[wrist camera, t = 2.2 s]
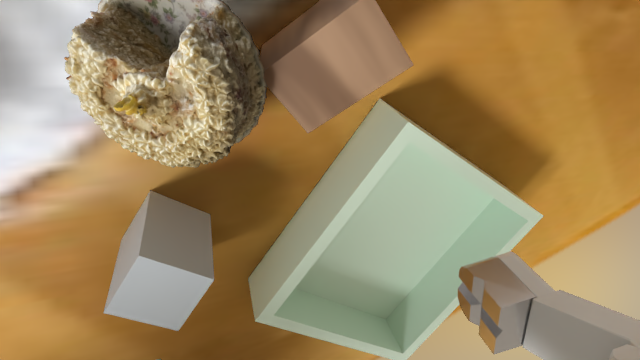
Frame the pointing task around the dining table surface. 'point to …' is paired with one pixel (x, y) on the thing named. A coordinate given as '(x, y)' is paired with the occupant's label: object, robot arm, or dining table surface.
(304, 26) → the walnut block
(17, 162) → the dining table surface
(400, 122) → the serving tray
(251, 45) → the cake
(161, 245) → the grey block
